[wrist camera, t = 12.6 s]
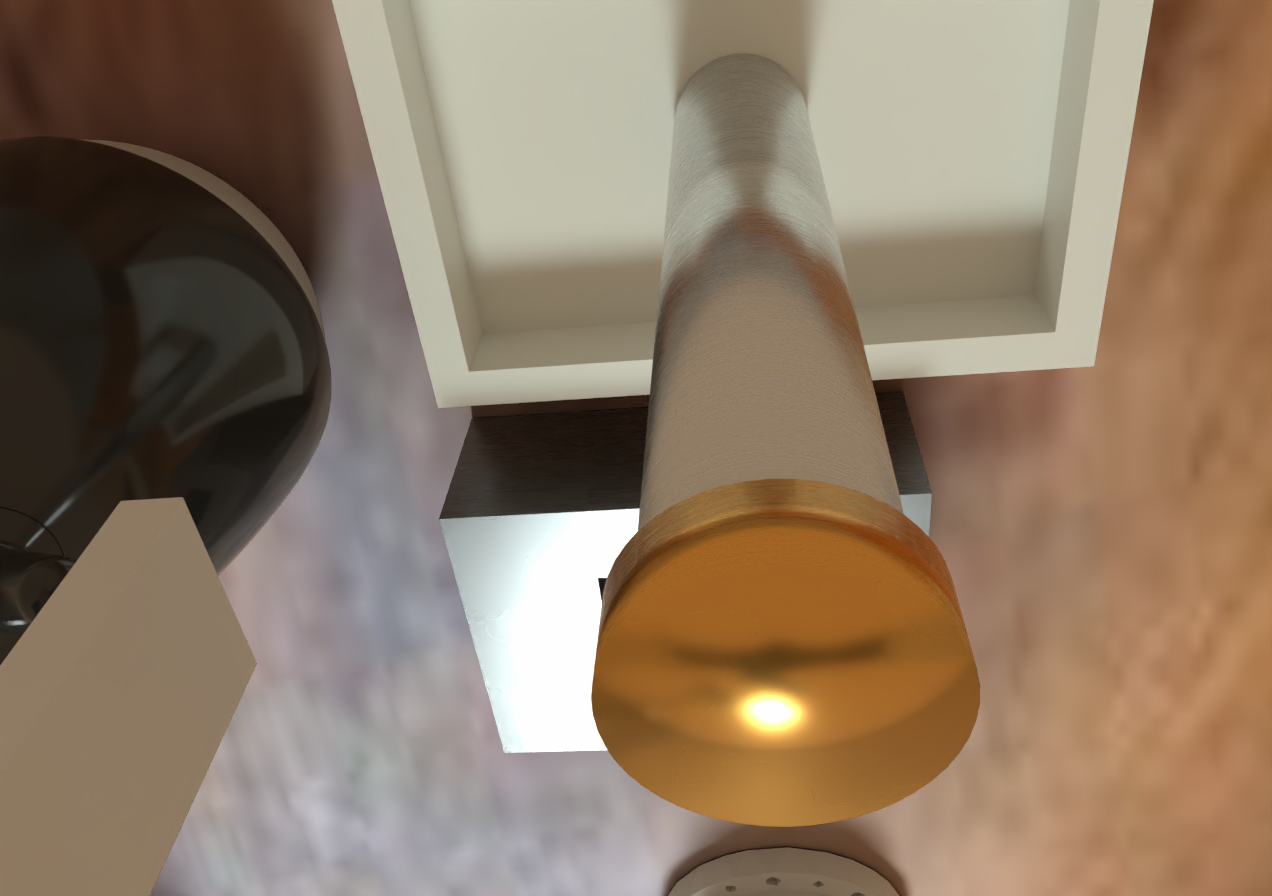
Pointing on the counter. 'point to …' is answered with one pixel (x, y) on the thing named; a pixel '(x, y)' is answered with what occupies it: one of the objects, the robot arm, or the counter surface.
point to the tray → (847, 150)
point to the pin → (771, 507)
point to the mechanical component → (782, 876)
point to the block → (569, 552)
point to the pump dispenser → (142, 357)
